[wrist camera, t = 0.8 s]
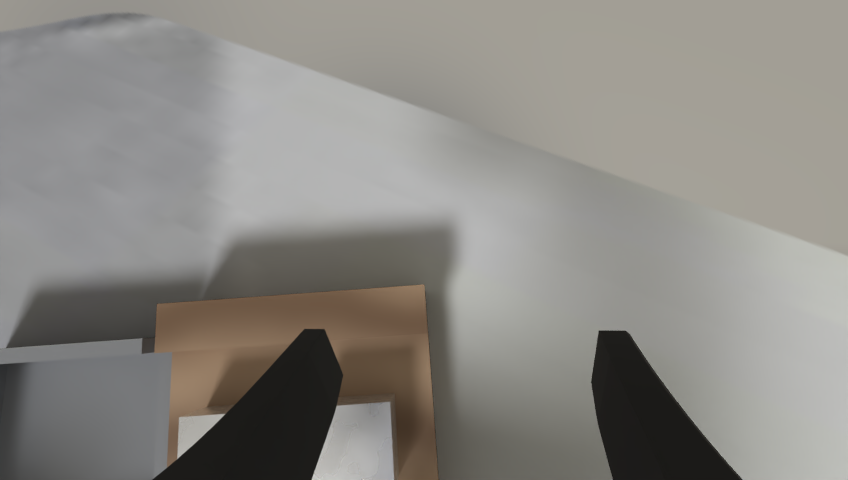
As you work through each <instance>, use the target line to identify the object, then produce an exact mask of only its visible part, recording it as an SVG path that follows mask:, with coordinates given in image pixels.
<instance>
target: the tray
mask: <svg viewBox="0 0 848 480" xmlns="http://www.w3.org/2000/svg"><path fill="white" fill-rule="evenodd" d="M154 349H155V338H139V339H125V340H112V341H98V342H84V343H70V344H56V345H43V346H29V347H15V348H1V349H0V480H152V479H154V478H155V477H156V476H157V475H159V474H160V473H161V472H162V471H164V470H165V469H166V468H167V453H168V431H169V410H170V388H171V367H172V352H165V353H154Z"/></svg>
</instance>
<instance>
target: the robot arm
mask: <svg viewBox="0 0 848 480" xmlns="http://www.w3.org/2000/svg"><path fill="white" fill-rule="evenodd" d="M342 379H343V373H342V370H341V368H340V365H339V363H338V361H337V358H336V356H335V353H334V351H333V348H332V346H331V343H330V341H329V338H328V336H327V334H326V331H325V329H304V330H303V331H302V332H301V333H300V334H299V335H298V336H297V338H296V339H295V340H294V341H293V342H292V343H291V344H290V345H289V346H288V347H287V349H286V350H285V351H284V352H283V353H282V354H281V355H280V356H279V358H278V359H277V360H276V361H275V362H274V363H273V364H272V365H271V366H270V368H269V369H268V370H267V371H266V372H265V373H264V374H263V375H262V376H261V377H260V378H259V380H258V381H257V382H256V383H255V384H254V385H253V386H252V387H251V388H250V389H249V390H248V391H247V392H246V394H245V395H244V396H243V397H242V398H241V399H240V400H239V401H238V402H237V403H236V404H235V405H234V406H233V407H232V408H231V409H230V410H229V411H228V412H227V413H226V414H225V415H224V416H223V417H222V418H221V419H220V420H219V421H218V422H217V423H216V424H215V425H214V426H213V427H212V428H211V429H210V430H209V431H208V432H207V433H206V434H204V435H203V436H202V437H201V438H200V439H199V440H198V441H197V442H196V443H195V444H194V445H193V446H191V447H190V448H189V449H188V450H187V451H186V452H185V453H183V454H182V455H181V456H180V457H179V458H178V459H177V460H175V461H174V462H173V463H172V464H171V465H170V466H168V467H167V468H166V469H165V470H164V471H162V472H161V473H160V474H159V475H157V476H156V477H155V478H154V479H152V480H312V477H313V474H314V471H315V468H316V466H317V463H318V460H319V457H320V454H321V451H322V449H323V446H324V443H325V440H326V437H327V434H328V431H329V428H330V426H331V423H332V420H333V417H334V414H335V411H336V406H337V402H338V398H339V393H340V388H341V384H342ZM591 383H592V390H593V396H594V403H595V409H596V415H597V421H598V425H599V429H600V433H601V437H602V440H603V444H604V448H605V452H606V455H607V459H608V463H609V466H610V470H611V473H612V477H613V480H742V479H741V478H740V476H739V475H738V474H737V473H736V472H735V471H734V470H733V469H732V467H731V466H730V465H729V464H728V463H727V462H726V461H725V460H724V458H723V457H722V456H721V455H720V454H719V453H718V451H717V450H716V449H715V448H714V447H713V446H712V444H711V443H710V442H709V441H708V440H707V439H706V437H705V436H704V435H703V434H702V432H701V431H700V430H699V429H698V428H697V426H696V425H695V424H694V423H693V421H692V420H691V419H690V418H689V416H688V415H687V414H686V412H685V411H684V410H683V409H682V407H681V406H680V405H679V403H678V402H677V401H676V400H675V398H674V397H673V396H672V394H671V393H670V392H669V390H668V389H667V388H666V386H665V385H664V384H663V382H662V381H661V380H660V378H659V377H658V375H657V374H656V373H655V371H654V370H653V368H652V367H651V366H650V364H649V363H648V361H647V360H646V358H645V357H644V355H643V354H642V352H641V351H640V349H639V348H638V346H637V345H636V343H635V342H634V340H633V339H632V337H631V335H630V334H629V333H628V332H627V331H599V334H598V340H597V347H596V354H595V360H594V367H593V374H592V381H591Z"/></svg>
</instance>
